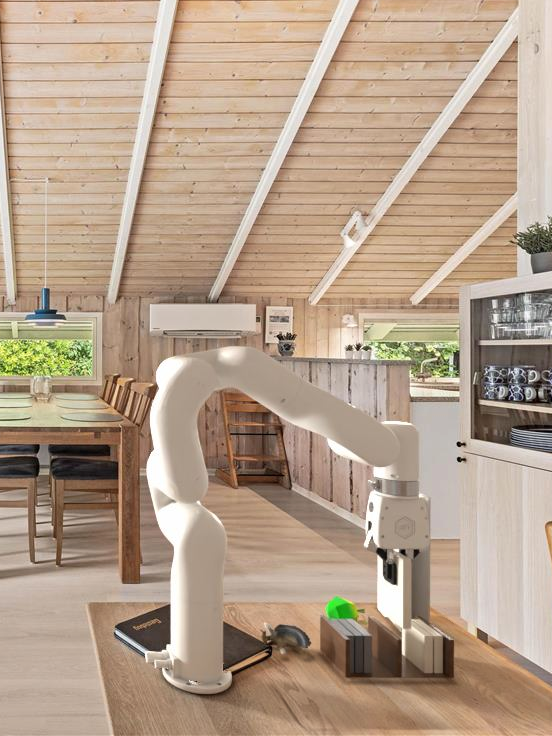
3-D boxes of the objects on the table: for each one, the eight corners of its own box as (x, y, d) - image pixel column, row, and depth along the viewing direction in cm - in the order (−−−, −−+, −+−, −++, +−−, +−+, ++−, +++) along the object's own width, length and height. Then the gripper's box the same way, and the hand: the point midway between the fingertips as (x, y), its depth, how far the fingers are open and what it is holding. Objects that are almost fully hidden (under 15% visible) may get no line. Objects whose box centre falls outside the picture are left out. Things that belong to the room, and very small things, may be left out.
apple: (329, 593, 137) (364, 590, 138) (314, 603, 141) (349, 599, 143) (344, 627, 132) (380, 623, 134) (329, 636, 137) (364, 632, 139)
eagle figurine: (265, 658, 121) (314, 656, 119) (257, 618, 125) (305, 615, 123) (265, 663, 127) (312, 661, 125) (258, 625, 131) (303, 622, 129)
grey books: (346, 673, 116) (346, 635, 116) (327, 653, 123) (327, 618, 123) (372, 673, 116) (372, 635, 116) (352, 653, 123) (352, 618, 123)
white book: (403, 629, 116) (403, 559, 116) (381, 612, 123) (381, 546, 123) (411, 629, 116) (411, 559, 116) (389, 612, 123) (389, 546, 123)
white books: (424, 673, 116) (424, 636, 116) (401, 654, 123) (401, 618, 123) (443, 673, 116) (443, 636, 116) (419, 654, 123) (419, 619, 123)
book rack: (345, 682, 115) (345, 639, 115) (320, 655, 125) (320, 615, 125) (454, 683, 115) (454, 640, 115) (419, 655, 125) (419, 615, 125)
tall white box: (430, 639, 131) (430, 497, 131) (401, 637, 132) (401, 496, 132) (403, 610, 145) (403, 482, 145) (377, 608, 146) (378, 481, 146)
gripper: (365, 491, 116) (366, 590, 116) (450, 491, 116) (450, 590, 116) (345, 482, 124) (345, 574, 124) (424, 482, 123) (424, 574, 123)
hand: (396, 581), depth 120 cm, fingers closed on white book, 1 cm apart
